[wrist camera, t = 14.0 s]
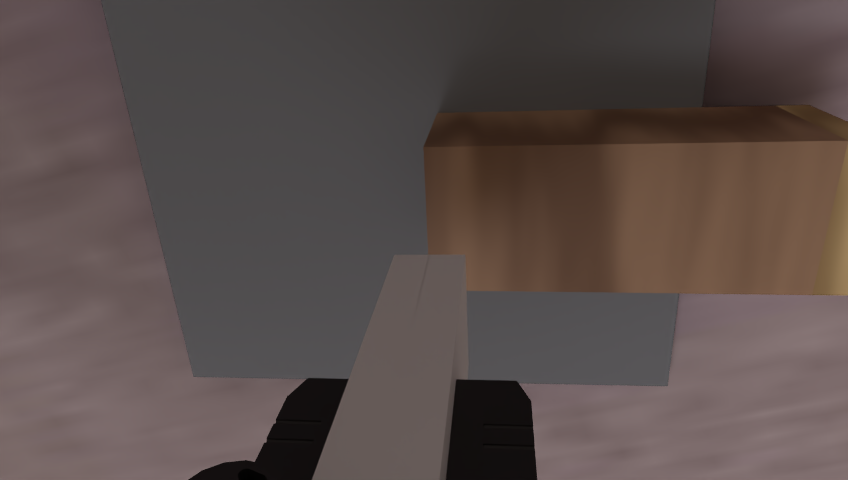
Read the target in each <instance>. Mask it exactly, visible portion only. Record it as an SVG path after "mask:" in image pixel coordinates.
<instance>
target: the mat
mask: <svg viewBox="0 0 848 480" xmlns="http://www.w3.org/2000/svg"><path fill="white" fill-rule="evenodd" d="M715 1H716V0H101V2H102V7H103V11H104V15H105V19H106V23H107V27H108V31H109V35H110V39H111V43H112V47H113V51H114V55H115V59H116V63H117V67H118V72H119V76H120V80H121V84H122V88H123V92H124V96H125V100H126V104H127V108H128V112H129V116H130V120H131V124H132V128H133V132H134V136H135V141H136V145H137V149H138V153H139V157H140V161H141V165H142V169H143V173H144V177H145V181H146V185H147V189H148V193H149V197H150V201H151V206H152V210H153V214H154V218H155V222H156V226H157V230H158V234H159V238H160V242H161V246H162V250H163V254H164V258H165V262H166V266H167V270H168V275H169V279H170V283H171V287H172V291H173V295H174V299H175V303H176V307H177V311H178V315H179V319H180V323H181V327H182V331H183V335H184V340H185V344H186V348H187V352H188V356H189V360H190V364H191V368H192V372H193V376H194V377H231V378H281V379H308V378H334V379H349V377H350V374H351V372H352V369H353V366H354V363H355V361H356V358H357V355H358V353H359V350H360V347H361V344H362V342H363V339H364V336H365V333H366V331H367V328H368V325H369V323H370V320H371V317H372V314H373V312H374V309H375V306H376V303H377V301H378V298H379V295H380V293H381V290H382V287H383V284H384V282H385V279H386V276H387V273H388V271H389V268H390V265H391V263H392V260H393V257H394V255H428V239H427V217H426V195H425V173H424V151H423V147H424V144H425V142H426V139H427V137H428V134H429V132H430V130H431V127H432V125H433V122H434V120H435V117H436V115H437V113H455V112H502V111H548V110H595V109H641V108H688V107H702V105H703V97H704V89H705V81H706V73H707V65H708V57H709V49H710V41H711V33H712V25H713V17H714V9H715ZM466 292H467V327H468V361H469V366H468V379H467V380H509V381H517V382H518V383H534V384H585V385H636V386H668V378H669V370H670V362H671V354H672V346H673V338H674V330H675V322H676V314H677V306H678V298H679V293H609V292H525V291H466Z"/></svg>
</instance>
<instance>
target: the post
mask: <svg viewBox="0 0 848 480" xmlns="http://www.w3.org/2000/svg"><path fill="white" fill-rule="evenodd" d="M423 151H424V173H425V195H426V217H427V239H428V255H465V258H466V291H525V292H609V293H692V294H776V295H848V122H847V121H845V120H843V119H840V118H838V117H836V116H833V115H831V114H829V113H826V112H824V111H822V110H819V109H817V108H815V107H812V106H810V105H781V106H734V107H688V108H641V109H595V110H548V111H502V112H455V113H437V115H436V117H435V120H434V122H433V125H432V127H431V130H430V132H429V134H428V137H427V139H426V142H425V144H424V147H423Z"/></svg>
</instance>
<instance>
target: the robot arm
mask: <svg viewBox="0 0 848 480" xmlns="http://www.w3.org/2000/svg"><path fill="white" fill-rule="evenodd" d="M468 366H469V361H468V327H467V292H466V258H465V255H394V257H393V260H392V263H391V265H390V268H389V271H388V273H387V276H386V279H385V282H384V284H383V287H382V290H381V293H380V295H379V298H378V301H377V303H376V306H375V309H374V312H373V314H372V317H371V320H370V323H369V325H368V328H367V331H366V333H365V336H364V339H363V342H362V344H361V347H360V350H359V353H358V355H357V358H356V361H355V363H354V366H353V369H352V372H351V374H350V377H349V379H334V378H308V379H307V380H306V381H304V382H303V383H302V384H301V385H300V386H299V387H298V388H297V389H295V390H294V391H293V392H292V393H291V394H290V395H289V396H287V398H286V400H285V402H284V404H283V406H282V408H281V410H280V412H279V414H278V416H277V418H276V424H273V426H272V428H271V430H270V432H269V434H268V437H267V442H266V443H264V445H263V447H262V449H261V451H260V453H259V455H258V457H257V459H256V461H255V462H252V461H247V460H245V461H235V462H225V463H222V464H219V465H216V466H214V467H211V468H208V469H205V470H203V471H201V472H199V473H198V474H196V475H195V476H193V477H192V478H190V479H189V480H537V472H536V459H535V449H534V433H533V420H532V407H531V400H530V399H529V398H528V396H527V395H526V393H525V392H524V390H523V389H522V388H521V386H520V385H519V383H518V382H517V381H509V380H467V379H468Z"/></svg>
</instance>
